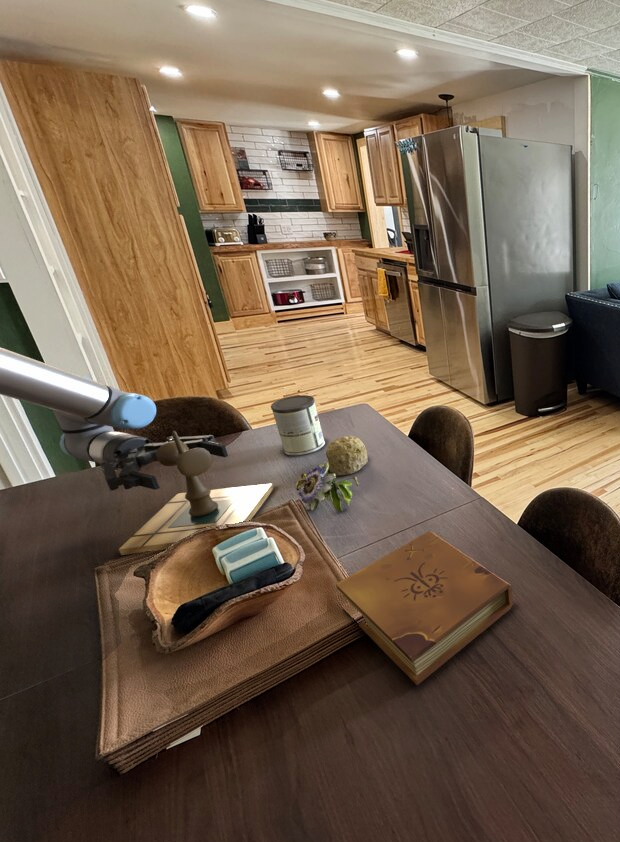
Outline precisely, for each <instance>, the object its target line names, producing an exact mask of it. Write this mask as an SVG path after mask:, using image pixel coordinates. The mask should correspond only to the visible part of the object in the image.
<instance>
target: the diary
mask: <svg viewBox="0 0 620 842" xmlns="http://www.w3.org/2000/svg"><path fill="white" fill-rule="evenodd" d="M335 587H336V589H337V590H338V591H339V592H340V593H341V594H342V595H343V597H344V599H345V598H346V600H348V602H349V603H350V604H351V605H352V606H353V607H355V609H357V611H359V612H360V613H361V614H362V615H363V617H364V619H365V621H366V623H367V625H368V626H367V625H366V624H365V622H364V623H360V624H359V625H358V626H359V628H360V629H361V630H363V632H364V633H365V634H366V635H367V636H369V638H370V639H371V640H372V641H373V642H374V643H375V644H376V645H377V646H378V647H379V648H380V649H381V650H382V651H383V653H385V654H386V655H387V656H388V657H389V658H390V659H391V660H392V661H393V663H394V664H395V665H396V666H398V668H399V669H400V670H401V671H402V672H403V673H404V674H405V675H406V676H407V677H408V678H409V679H410V680H411V681H412V682H413V683H414V684H415V685H416V686H419V685H420V684H421V683H422V682H424V681H425V680H426V679H427V678H428V677H430V675H432V674H433V673H435V671H437V670H438V669H439V668H440V667H442V666H443V665H445V663H447V662H448V661H449V660H451V658H453V657H454V656H455V655H456V654H457V653H459V652H460V651H462V649H464V648H465V647H466V646H467V645H468V644H470V643H471V642H473V640H475V639H476V638H477V637H478V636H479V635H481V634H482V633H483V632H484V631H486V630H487V629H488V628H490V627H491V626H492V625H493V624H495V622H497V621H498V620H499V619H500V618H502V617H503V615H505V614H507V612H509V611H510V610H511V608H512V606H513V604H514V594H513V586H512V585H511V584H510V583H509V582H507V581H506V580H504V579H502V578H501V577H500V576H498V575H497V574H495V573H494V572H492V571H491V570H489V568H487V567H485V566H484V565H482V564H480V563H479V562H478V561H476V560H474V559H473V558H472V557H471V556H469V555H467V554H466V553H464V552H463V551H461V550H460V549H459V548H457V547H455V546H454V545H452V544H450V543H449V542H448V541H447V540H445V539H444V538H442V537H440V536H439V535H437V534H436V533H435V532H433V531H430V530H428V531H426V532H425V533H423V534H421V535H419V536H418V537H415V538H414V539H412V540H411V541H409V542H407V543H405V544H403V545H402V546H400V547H398V548H397V549H395V550H393V551H391V552H389V553H387V554H386V555H384V556H382V557H380V558H379V559H377V560H375V561H374V562H372V563H370V564H368V565H366V566H365V567H363V568H361V569H359V570H358V571H356V572H354V573H353V574H351V575H348V576H347V577H345V578H343V579H342V580H340V581H337V583H335ZM346 600H345V601H346Z"/></svg>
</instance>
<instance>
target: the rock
mask: <svg viewBox="0 0 620 842" xmlns="http://www.w3.org/2000/svg"><path fill="white" fill-rule="evenodd" d="M364 443H365V442H363V440H361V439H360V438H358V437H357V436H354V435H344V436H340V437H338V438H335V439H334V440H332V441H331V442H330V443H329V444H328V445H327V447H326V451H325V457H326V458H327V462H328V463H329V469H328V470H329V471H330V474H331V473H333V474H335V475H336V476H345V475H346V476H347V475H351V474H354V473H356V472H358V471H359V470H360V469H361V468H363V467H365V466H366V464H367V463H368V462H369V460H368V451H367V448H366V446H365V444H364Z"/></svg>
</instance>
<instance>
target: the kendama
mask: <svg viewBox="0 0 620 842" xmlns="http://www.w3.org/2000/svg"><path fill="white" fill-rule="evenodd" d="M171 434H172V435H171V436H173V439H174V441H171V442H167V441H166V442H167V443H165V442H164V443H165V444H163V445H162V446H161V447H160V448H159V449H158V451H157V459H158V461H157V462H158V463H159V464H160V465H162V466H164V467H175V466H176V467H177V470H178V471H179V473H180V474H181V475H182V476H184V478H185V483H186V489H187V490H186V492H185V493H186V494H185V498H186V499H187V500H189V502H190V505H191V508H190V509H189V514H190V515H191V516H195V517H197V516H203V515H207V514H209V513H211V512H213V511H214V510H215V509H217V507H218V504H217V503H216V502H215V501H213V500H212V499H211V497H210V492H211V490H212V489H210V488H208V487H206V486H205V485H204V484H203V483H202V481H201V480H200V478H199V477H198V476H200V475H202V474H204V473H206V472H207V471H208V470H209V469H210V468H211V467H212V464H213V455H211V454H210V453H209V451H207V450H206V449H204V448H194V449H190V450H189V448H188V447H187V445H186V444H185V443H183V442H182V441H180V439H179V437H180V436H179V435H178V433H177V431H176V430H172V431H171Z"/></svg>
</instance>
